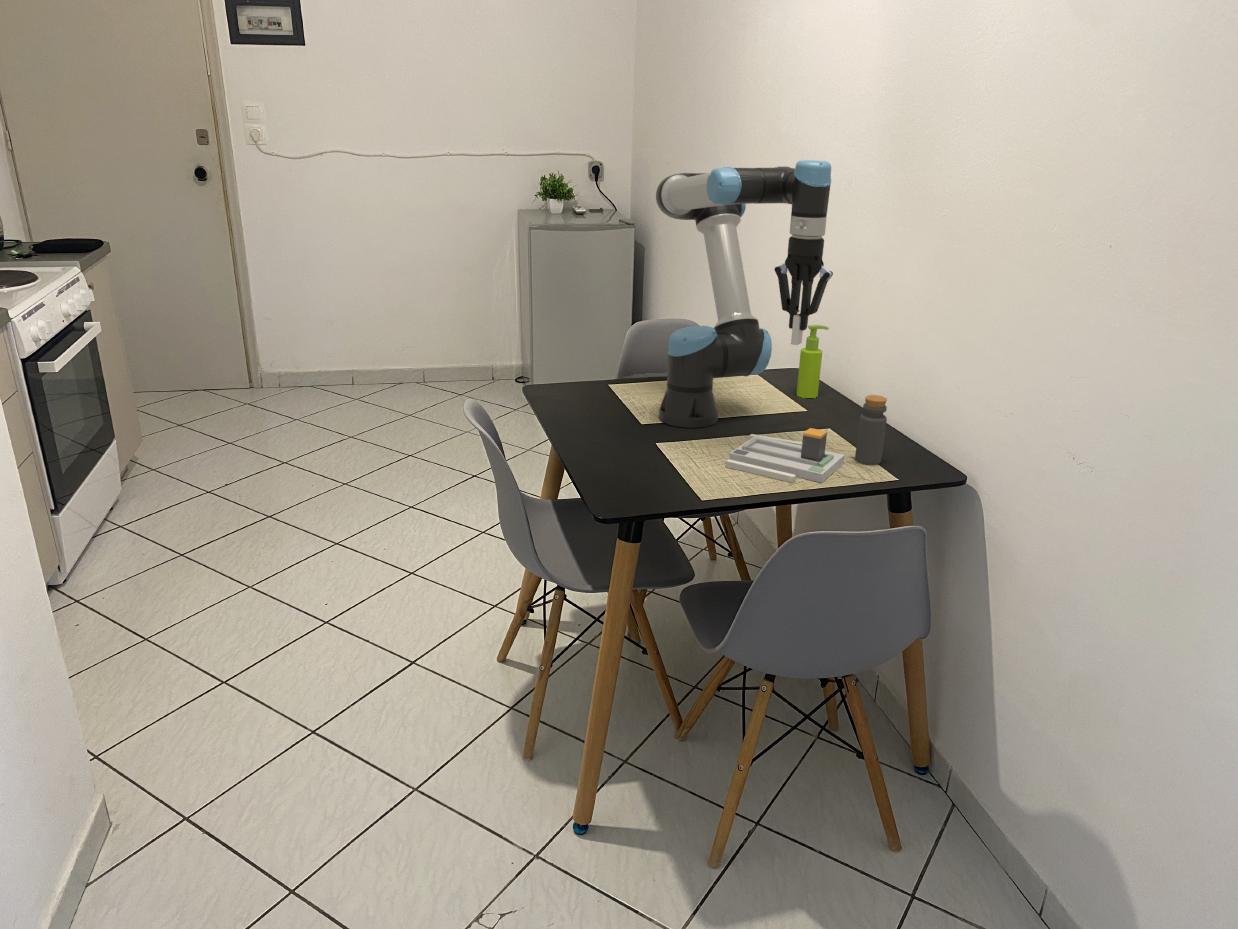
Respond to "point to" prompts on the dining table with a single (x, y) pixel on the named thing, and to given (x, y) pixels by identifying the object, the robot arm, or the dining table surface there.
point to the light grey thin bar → (778, 439)
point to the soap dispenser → (810, 365)
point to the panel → (786, 458)
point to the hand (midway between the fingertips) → (796, 343)
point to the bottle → (871, 431)
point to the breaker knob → (813, 444)
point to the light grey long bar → (761, 471)
